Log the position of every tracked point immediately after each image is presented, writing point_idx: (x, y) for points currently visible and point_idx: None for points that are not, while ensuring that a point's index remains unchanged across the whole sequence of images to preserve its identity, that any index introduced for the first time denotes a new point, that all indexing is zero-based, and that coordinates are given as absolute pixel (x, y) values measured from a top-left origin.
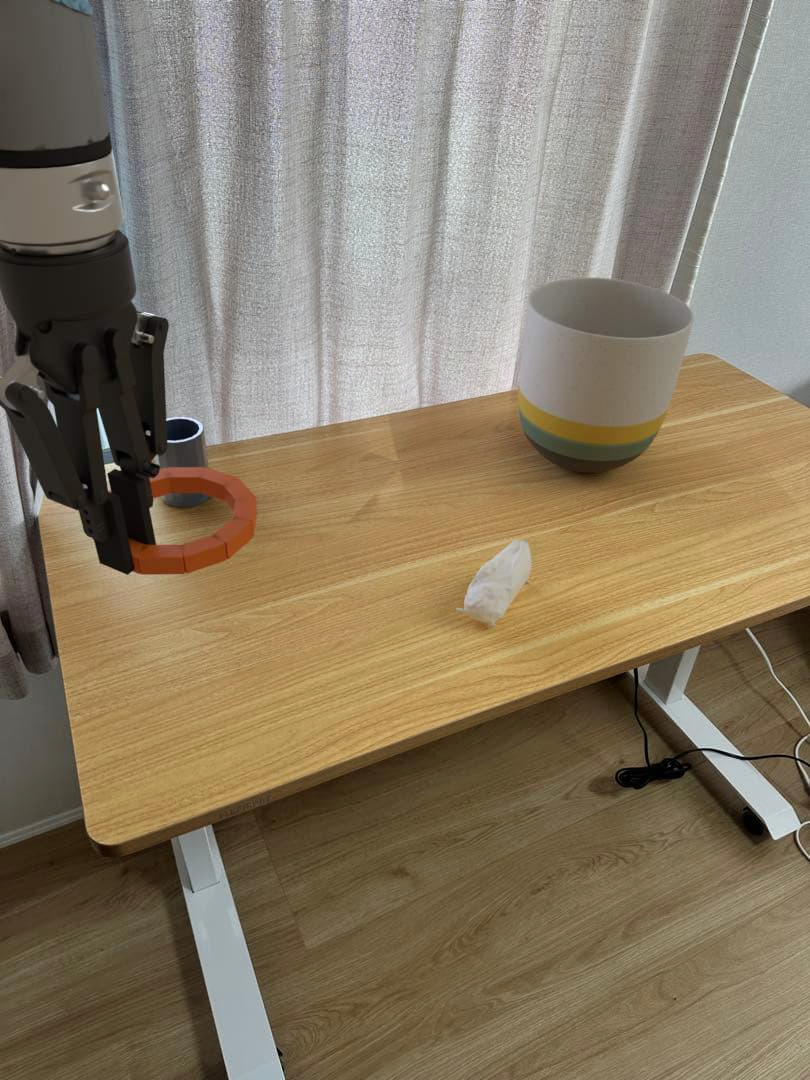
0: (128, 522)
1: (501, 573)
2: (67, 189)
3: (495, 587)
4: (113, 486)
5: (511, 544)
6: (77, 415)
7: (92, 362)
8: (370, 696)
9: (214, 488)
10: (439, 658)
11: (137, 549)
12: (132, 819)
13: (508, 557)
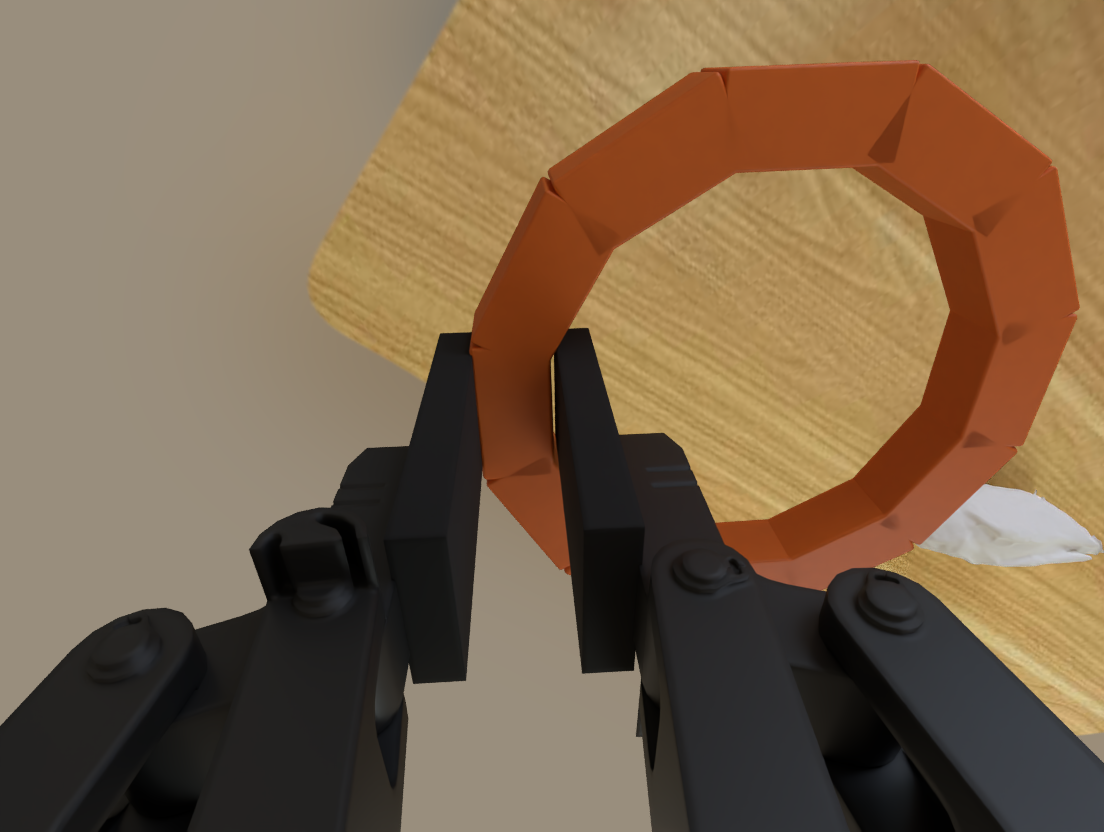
0: (562, 437)
1: (1000, 553)
2: None
3: (965, 552)
4: (576, 503)
5: (1085, 540)
6: None
7: None
8: (707, 453)
9: (956, 388)
10: (815, 492)
11: (516, 460)
12: (346, 312)
13: (1047, 545)
